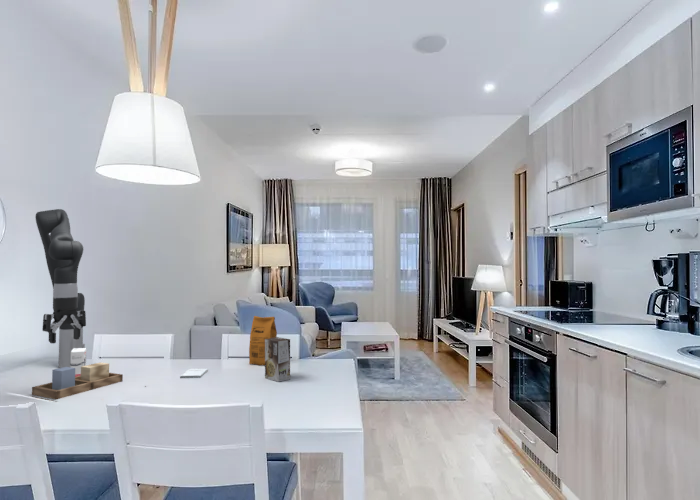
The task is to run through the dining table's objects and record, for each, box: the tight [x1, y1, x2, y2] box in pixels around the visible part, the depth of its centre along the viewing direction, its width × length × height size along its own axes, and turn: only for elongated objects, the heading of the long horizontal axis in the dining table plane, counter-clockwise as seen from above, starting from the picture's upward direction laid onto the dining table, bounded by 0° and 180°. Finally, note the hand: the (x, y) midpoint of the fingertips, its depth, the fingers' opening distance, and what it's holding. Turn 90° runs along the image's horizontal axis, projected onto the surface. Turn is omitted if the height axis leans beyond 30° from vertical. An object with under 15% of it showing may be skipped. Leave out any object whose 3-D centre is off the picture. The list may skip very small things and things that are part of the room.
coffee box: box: [264, 336, 291, 383], centre depth 182 cm, size 9×6×16 cm
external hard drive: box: [179, 368, 209, 379], centre depth 189 cm, size 2×8×12 cm
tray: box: [31, 372, 124, 403], centre depth 166 cm, size 26×13×3 cm, turn 156°
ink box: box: [70, 347, 87, 377], centre depth 182 cm, size 8×5×12 cm, turn 26°
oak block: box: [81, 361, 110, 382], centre depth 171 cm, size 8×5×7 cm, turn 156°
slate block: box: [51, 367, 75, 390], centre depth 160 cm, size 5×5×8 cm
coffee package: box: [248, 315, 278, 366], centre depth 210 cm, size 10×12×22 cm
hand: (64, 341), depth 161 cm, fingers open, 8 cm apart
